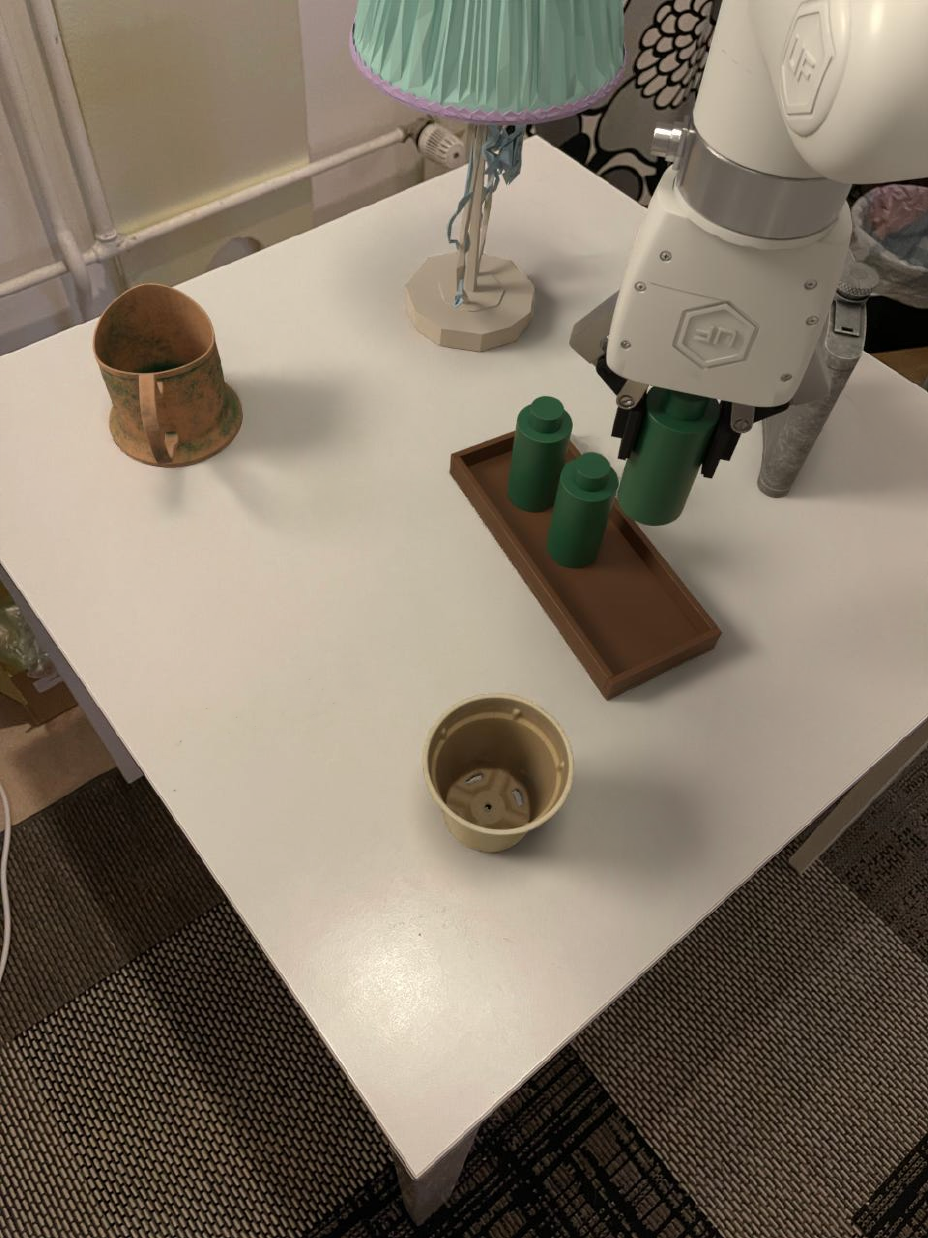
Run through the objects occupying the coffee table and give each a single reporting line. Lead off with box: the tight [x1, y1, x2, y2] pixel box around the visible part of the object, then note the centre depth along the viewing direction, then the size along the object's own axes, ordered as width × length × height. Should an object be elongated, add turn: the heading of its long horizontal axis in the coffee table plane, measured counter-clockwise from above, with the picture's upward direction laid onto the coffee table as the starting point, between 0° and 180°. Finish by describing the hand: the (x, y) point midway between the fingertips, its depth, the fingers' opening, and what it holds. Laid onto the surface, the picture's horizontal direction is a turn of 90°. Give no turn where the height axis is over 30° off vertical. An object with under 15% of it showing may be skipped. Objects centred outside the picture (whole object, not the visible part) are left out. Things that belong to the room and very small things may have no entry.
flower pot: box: [422, 692, 575, 853], centre depth 60 cm, size 9×9×9 cm
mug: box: [92, 282, 243, 468], centre depth 76 cm, size 12×18×12 cm, turn 11°
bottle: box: [616, 386, 721, 527], centre depth 56 cm, size 4×4×10 cm
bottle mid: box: [546, 451, 620, 568], centre depth 72 cm, size 4×4×10 cm
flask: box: [756, 247, 880, 499], centre depth 77 cm, size 4×14×18 cm, turn 171°
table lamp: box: [348, 0, 628, 353], centre depth 76 cm, size 22×22×40 cm
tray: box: [449, 430, 724, 701], centre depth 75 cm, size 25×10×2 cm, turn 28°
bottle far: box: [507, 395, 574, 512], centre depth 75 cm, size 4×4×10 cm
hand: (667, 450), depth 56 cm, fingers closed on bottle, 4 cm apart
